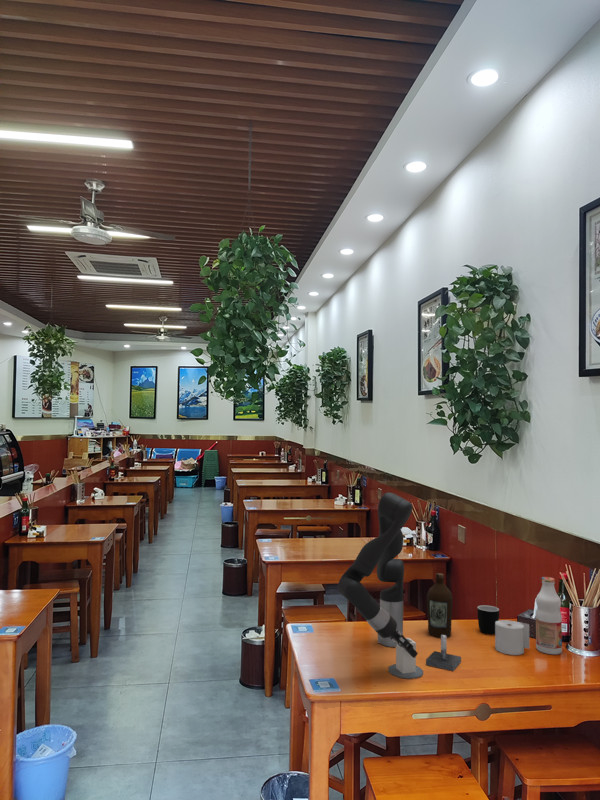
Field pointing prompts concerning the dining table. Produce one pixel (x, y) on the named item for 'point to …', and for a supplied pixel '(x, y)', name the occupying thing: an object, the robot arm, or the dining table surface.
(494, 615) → the mug
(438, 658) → the post stand
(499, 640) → the toilet tissue
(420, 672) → the mat
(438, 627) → the olive oil
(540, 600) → the fruit juice
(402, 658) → the sleeve
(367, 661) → the dining table surface
